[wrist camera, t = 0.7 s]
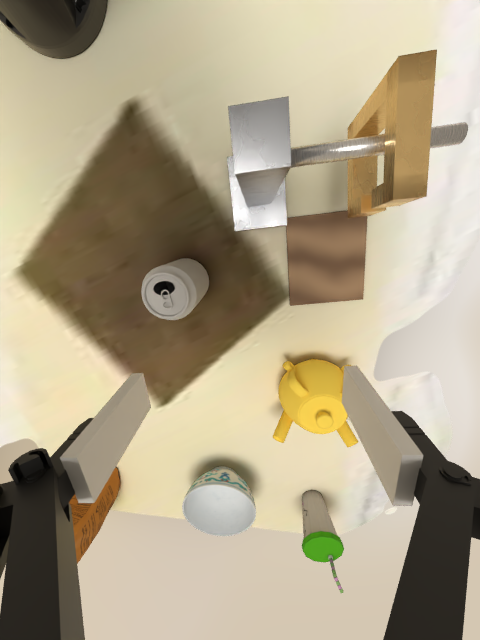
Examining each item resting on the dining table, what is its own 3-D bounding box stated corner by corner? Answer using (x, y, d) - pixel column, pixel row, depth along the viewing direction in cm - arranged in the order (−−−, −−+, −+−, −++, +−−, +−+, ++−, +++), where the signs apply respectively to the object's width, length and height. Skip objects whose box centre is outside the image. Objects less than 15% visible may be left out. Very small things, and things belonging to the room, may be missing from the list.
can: (204, 253, 42) (185, 261, 30) (214, 297, 44) (200, 319, 33) (161, 262, 43) (127, 273, 31) (173, 304, 45) (146, 328, 34)
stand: (227, 159, 37) (182, 44, 14) (367, 138, 35) (571, -31, 12) (235, 231, 40) (209, 229, 17) (364, 215, 38) (520, 192, 16)
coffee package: (80, 492, 63) (-6, 620, 42) (82, 456, 59) (-13, 579, 38) (119, 501, 63) (52, 633, 42) (124, 466, 59) (52, 593, 38)
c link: (347, 128, 27) (398, 56, 17) (371, 124, 26) (436, 49, 17) (347, 218, 29) (392, 200, 19) (369, 215, 29) (426, 196, 19)
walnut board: (285, 218, 39) (286, 218, 38) (366, 208, 38) (367, 208, 37) (289, 304, 44) (290, 305, 43) (361, 298, 42) (363, 299, 42)
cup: (294, 485, 58) (306, 567, 43) (329, 484, 57) (353, 567, 43) (295, 509, 60) (308, 594, 46) (329, 508, 59) (352, 594, 45)
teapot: (269, 410, 51) (273, 456, 41) (275, 350, 47) (280, 384, 36) (341, 415, 51) (364, 463, 40) (353, 354, 46) (383, 390, 36)
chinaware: (259, 498, 60) (260, 535, 52) (198, 501, 61) (191, 537, 54) (251, 449, 55) (250, 482, 48) (185, 454, 57) (174, 487, 49)
